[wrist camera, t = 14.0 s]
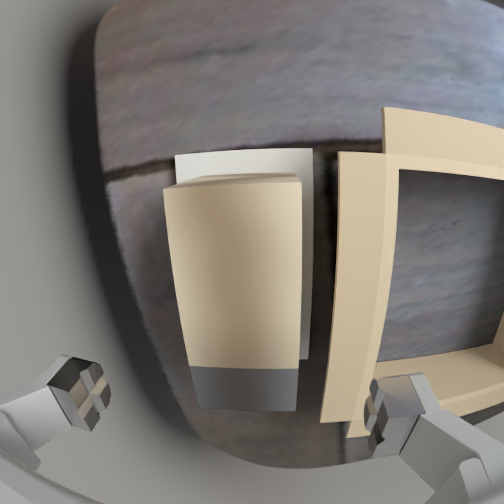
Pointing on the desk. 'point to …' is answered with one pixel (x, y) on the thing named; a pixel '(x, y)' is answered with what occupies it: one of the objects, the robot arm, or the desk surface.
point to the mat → (265, 163)
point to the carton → (381, 262)
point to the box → (239, 286)
